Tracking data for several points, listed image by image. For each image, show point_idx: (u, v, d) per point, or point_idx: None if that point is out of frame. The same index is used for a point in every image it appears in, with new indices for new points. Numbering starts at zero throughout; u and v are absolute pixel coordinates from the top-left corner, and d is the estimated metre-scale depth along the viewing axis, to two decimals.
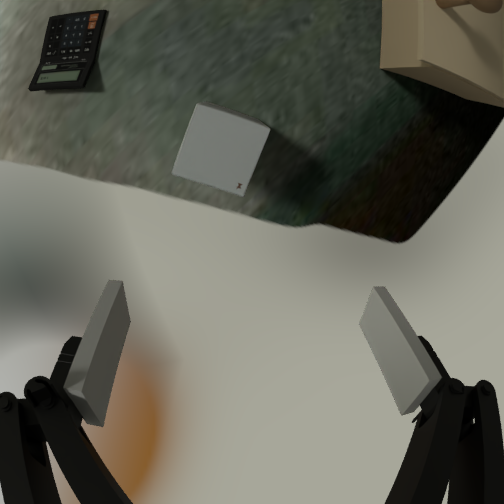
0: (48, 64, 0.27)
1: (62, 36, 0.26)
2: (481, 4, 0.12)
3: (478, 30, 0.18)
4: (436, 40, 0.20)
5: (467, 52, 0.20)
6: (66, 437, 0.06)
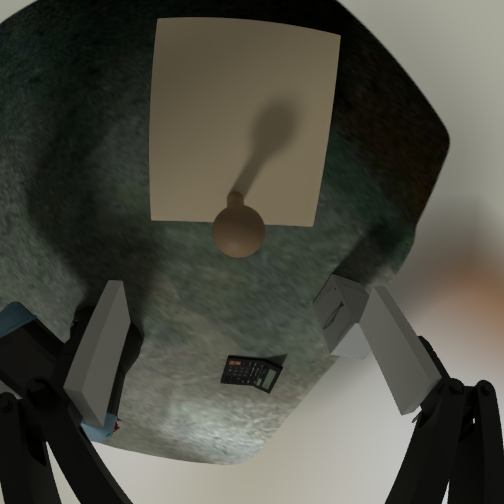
0: (256, 382, 0.63)
1: (239, 376, 0.62)
2: None
3: (249, 135, 0.26)
4: (288, 208, 0.30)
5: (290, 161, 0.27)
6: (66, 437, 0.06)
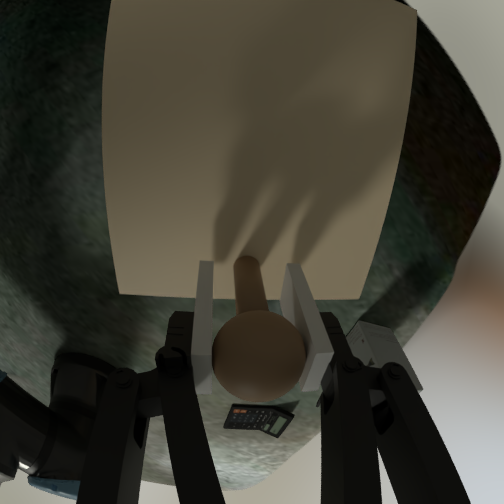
0: (263, 426, 0.53)
1: (244, 422, 0.52)
2: None
3: (273, 164, 0.15)
4: (327, 278, 0.19)
5: (337, 207, 0.17)
6: (184, 408, 0.08)
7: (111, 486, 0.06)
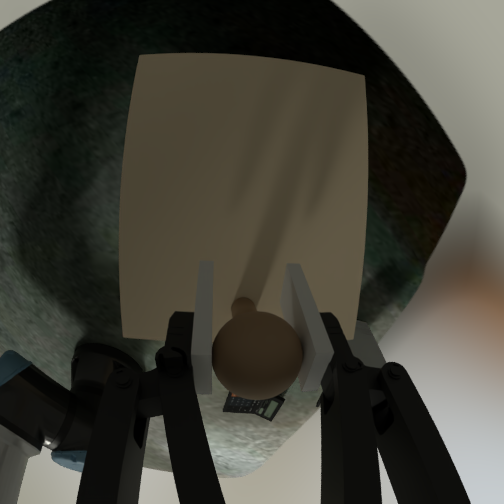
0: (258, 410, 0.61)
1: (241, 405, 0.60)
2: None
3: (261, 212, 0.19)
4: None
5: (319, 248, 0.20)
6: (184, 408, 0.08)
7: (111, 486, 0.06)
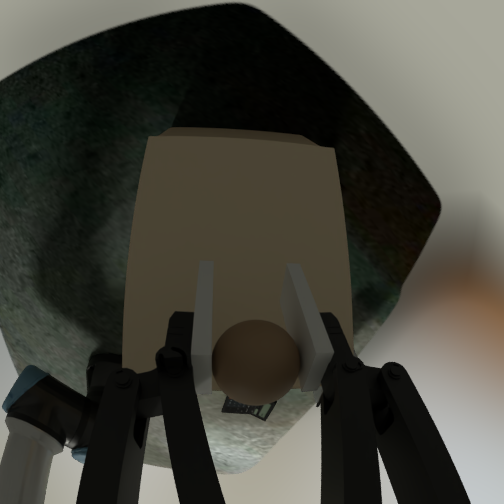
0: (253, 411, 0.68)
1: (238, 407, 0.67)
2: None
3: (254, 265, 0.22)
4: None
5: None
6: (184, 408, 0.08)
7: (111, 486, 0.06)
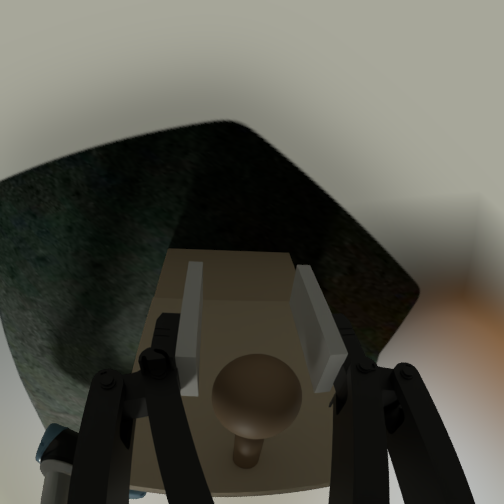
0: None
1: None
2: None
3: None
4: (330, 458, 0.15)
5: (308, 403, 0.20)
6: (169, 410, 0.08)
7: (100, 487, 0.05)
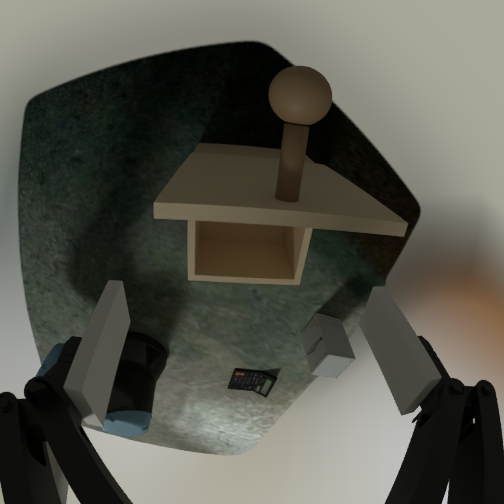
0: (256, 388, 0.79)
1: (242, 383, 0.78)
2: None
3: None
4: (362, 209, 0.20)
5: (333, 189, 0.24)
6: (66, 437, 0.06)
7: None
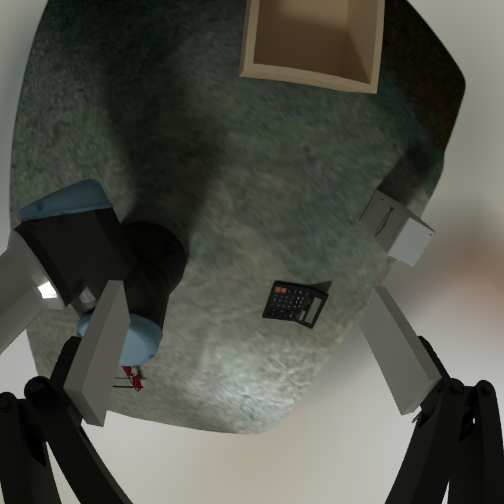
0: (299, 315, 0.64)
1: (282, 307, 0.63)
2: None
3: None
4: None
5: None
6: (66, 437, 0.06)
7: None
